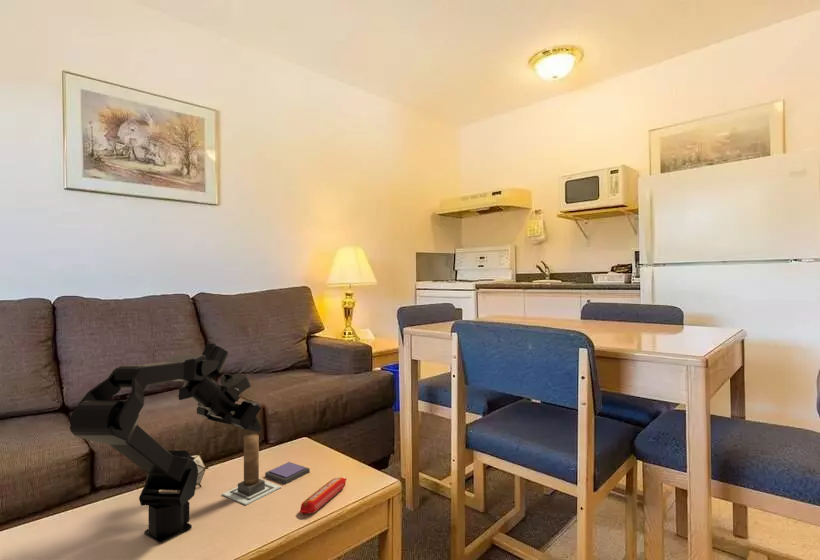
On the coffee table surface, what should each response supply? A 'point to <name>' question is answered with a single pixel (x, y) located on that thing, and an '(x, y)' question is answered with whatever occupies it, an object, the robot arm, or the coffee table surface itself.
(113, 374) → the robot arm
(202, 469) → the game die
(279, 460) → the coffee table surface
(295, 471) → the ink pad
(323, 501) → the candy bar
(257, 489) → the wooden handle on base
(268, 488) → the print card
